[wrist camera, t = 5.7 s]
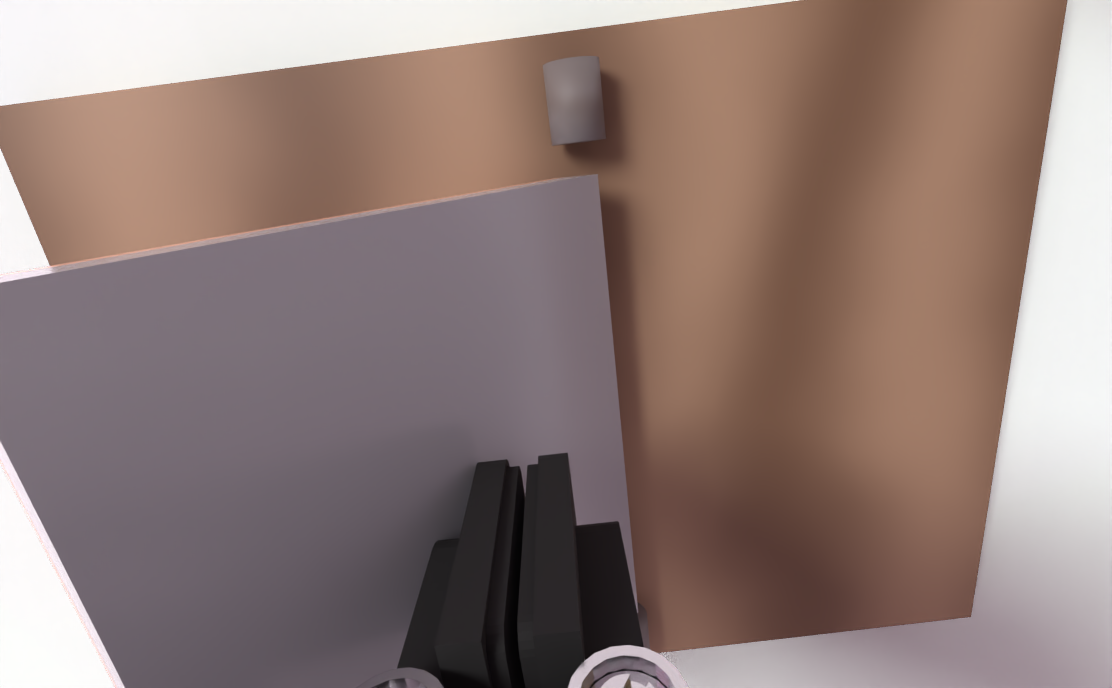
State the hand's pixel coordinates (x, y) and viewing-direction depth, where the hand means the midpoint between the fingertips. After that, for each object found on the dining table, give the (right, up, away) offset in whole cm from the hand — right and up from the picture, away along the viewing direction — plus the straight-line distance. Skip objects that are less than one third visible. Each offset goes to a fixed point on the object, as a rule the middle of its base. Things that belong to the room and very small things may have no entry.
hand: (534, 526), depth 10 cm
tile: (-1, 0, 0) cm, 1 cm away
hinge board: (+1, +2, +6) cm, 6 cm away
